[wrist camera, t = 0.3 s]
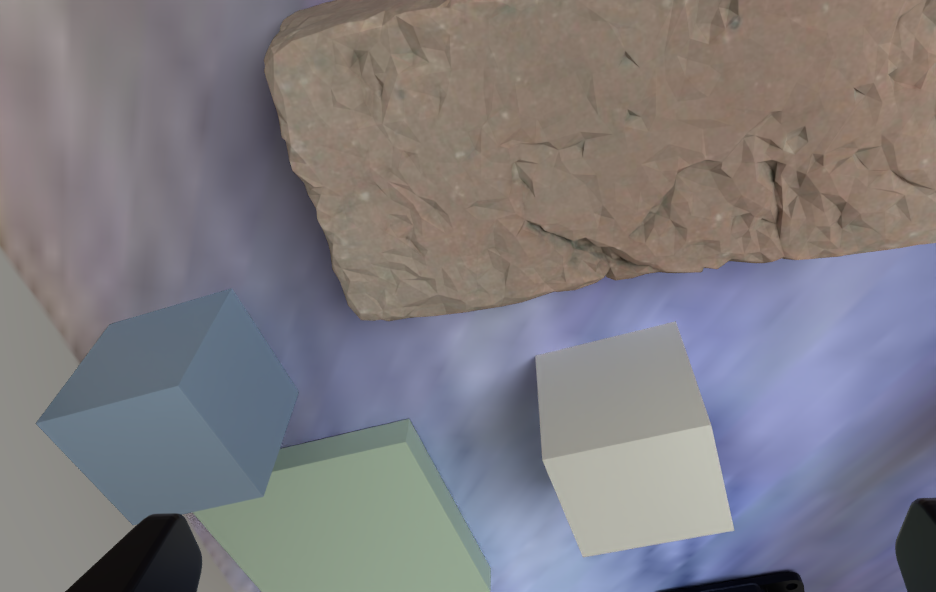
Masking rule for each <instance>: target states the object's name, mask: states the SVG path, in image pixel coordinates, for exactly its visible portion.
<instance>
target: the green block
mask: <svg viewBox="0 0 936 592" xmlns="http://www.w3.org/2000/svg"><path fill="white" fill-rule="evenodd" d="M193 514H194V515H195V516H196V517H197V518H198V519H199V520H200V522H201V523H202V524H203V525H204V526H205V527H206V528H207V530H208V531H209V532H210V533H211V534H212V535H213V537H214V538H215V539H216V540H217V541H218V542H219V543H220V545H221V546H222V547H223V548H224V549H225V550H226V552H227V553H228V554H229V555H230V556H231V557H232V558H233V560H234V561H235V562H236V563H237V564H238V565H239V567H240V568H241V569H242V570H243V571H244V572H245V573H246V575H247V576H248V577H249V578H250V579H251V580H252V581H253V583H254V584H255V585H256V586H257V587H258V588H259V590H260V591H261V592H490V587H491V568H490V566H489V564H488V563H487V561H486V559H485V557H484V555H483V553H482V552H481V550H480V548H479V546H478V544H477V542H476V541H475V539H474V537H473V535H472V533H471V531H470V530H469V528H468V526H467V524H466V522H465V520H464V519H463V517H462V515H461V513H460V511H459V509H458V508H457V506H456V504H455V502H454V500H453V498H452V497H451V495H450V493H449V491H448V489H447V487H446V486H445V484H444V482H443V480H442V478H441V476H440V475H439V473H438V471H437V469H436V467H435V465H434V464H433V462H432V460H431V458H430V456H429V454H428V453H427V451H426V449H425V447H424V445H423V443H422V442H421V440H420V438H419V436H418V434H417V432H416V431H415V429H414V427H413V425H412V423H411V421H410V420H409V419H406V420H402V421H397V422H393V423H389V424H385V425H380V426H376V427H372V428H367V429H363V430H359V431H355V432H350V433H346V434H342V435H338V436H333V437H329V438H325V439H320V440H316V441H312V442H308V443H303V444H299V445H295V446H290V447H286V448H282V449H280V450H279V453H278V455H277V458H276V461H275V464H274V467H273V470H272V473H271V476H270V479H269V482H268V485H267V488H266V491H265V494H264V497H260V498H255V499H251V500H246V501H242V502H237V503H233V504H228V505H223V506H219V507H214V508H210V509H205V510H200V511H196V512H193Z"/></svg>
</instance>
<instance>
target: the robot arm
mask: <svg viewBox="0 0 936 592" xmlns="http://www.w3.org/2000/svg"><path fill="white" fill-rule="evenodd" d="M895 550H896V558H897V561H898V565H899V568H900V571H901V574H902V577H903V580H904V583H905V586H906V589H907V592H936V498H919V499H916V500H915V501H914V502H912V504H911V505H910V508H909V510H908V512H907V515H906V517H905V520H904V522H903V525H902V527H901V529H900V532H899V534H898V537H897V540H896V546H895ZM201 569H202V556H201V551H200V549H199V546H198V544H197V542H196V540H195V538H194V536H193V534H192V532H191V529H190V527H189V525H188V523H187V521H186V519H185V517H184V516H182V515H181V514H178V513H163V514H152V515H149V516H147V517H146V518H144V519H143V520H142V521H141V522H140V523H139V524H137V526H135V527H134V528H133V529H132V530H131V531H130V532H129V533H128V534H127V535H126V536H125V537H124V538H123V539H121V540H120V541H119V542H118V543H117V544H116V545H115V546H114V547H113V548H112V549H111V550H110V551H108V552H107V553H106V554H105V555H104V556H103V557H102V558H101V559H100V560H99V561H98V562H97V563H96V564H95V565H93V566H92V567H91V568H90V569H89V570H88V571H87V572H86V573H85V574H84V575H83V576H82V577H80V578H79V580H77V581H76V582H75V583H74V584H73V585H72V586H71V587H70V588H69V589H68V590H67V591H65V592H197V588H198V584H199V579H200V575H201ZM669 592H804V585H803V582H802V580H801V577H800V575H799V574H798V573H795V572H786V573H780V574H774V575H768V576H761V577H755V578H749V579H743V580H737V581H731V582H725V583H718V584H712V585H706V586H700V587H694V588H688V589H682V590H675V591H669Z"/></svg>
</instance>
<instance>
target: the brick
mask: <svg viewBox="0 0 936 592" xmlns="http://www.w3.org/2000/svg"><path fill="white" fill-rule="evenodd" d="M264 63H265V70H264V73H265V76H266V79H267V82H268V85H269V88H270V92H271V95H272V98H273V101H274V104H275V107H276V110H277V113H278V118H279V123H280V129H281V135H282V138H283V139H284V140H285V141H286V145H287V150H288V155H289V160H290V164H291V167H292V170H293V172H294V173H295V174H296V175H297V176H298V177H299V178H300V179H301V180H302V181H303V182H304V183H305V186H306V190H307V193H308V195H309V197H310V199H311V200H312V202H313V204H314V205H315V208H316V210H317V220H318V221H319V223H320V225H321V227H322V229H323V231H324V234H325V236H326V239H327V241H328V244H329V249H330V253H331V262H332V269H333V271H334V272H335V274H336V276H337V278H338V279H339V281H340V283H341V286H342V289H343V291H344V294H345V297H346V300H347V303H348V306H349V307H350V308H351V309H352V310H353V311H354V313H355V314H356V315H357V316H358V317H359V318H360V319H361V320H373V321H375V320H380V319H381V320H386V321H393V320H399V319H405V318H412V317H427V316H438V315H446V314H454V313H463V312H470V311H475V310H482V309H488V308H495V307H501V306H506V305H511V304H516V303H520V302H525V301H527V300H530V299H533V298H536V297H539V296H542V295H545V294H548V293H551V292H554V291H555V292H561V291H570V290H576V289H579V288H582V287H585V286H588V285H591V284H593V283H596V282H598V281H599V280H601V279H602V278H604V277H605V275H606V277H608V278H610V279H613V280H622V279H629V278H634V277H637V276H641V275H644V274H649V273H655V272H666V273H687V272H702V271H703V268H712V269H718V268H720V267H721V266H722V265H724V264H725V263H726V262H728V261H736V262H747V263H767V262H773V261H776V260H778V259H781V258H783V259H792V260H802V259H815V258H826V257H838V256H844V255H850V254H858V253H866V252H873V251H881V250H888V249H896V248H902V247H908V246H913V245H919V244H930V243H936V0H335V1H331V2H326V3H323V4H320V5H317V6H314V7H311V8H307V9H304V10H299V11H297V12H295V13H294V14H292V15H290V16H289V17H287V18H286V19H285V20H283V22H282V24H281V26H280V31H279V33H278V34H277V35H276V36H275V37H274V39H273V40H272V42H271V44H270V46H269V48H268V50H267V52H266V55H265V58H264Z"/></svg>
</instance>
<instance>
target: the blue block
mask: <svg viewBox="0 0 936 592" xmlns="http://www.w3.org/2000/svg"><path fill="white" fill-rule="evenodd" d="M298 393H299V392H298V390H297V389H296V387H295V385H294V384H293V382H292V381H291V379H290V378H289V376H288V375H287V373H286V372H285V370H284V368H283V367H282V365H281V364H280V362H279V361H278V359H277V358H276V356H275V355H274V353H273V351H272V350H271V348H270V347H269V345H268V344H267V342H266V341H265V339H264V338H263V336H262V334H261V333H260V331H259V330H258V328H257V327H256V325H255V324H254V322H253V320H252V319H251V317H250V316H249V314H248V313H247V311H246V310H245V308H244V307H243V305H242V303H241V302H240V300H239V299H238V297H237V296H236V294H235V293H234V291H233V290H232V288H231V289H228V290H224V291H221V292H218V293H214V294H211V295H207V296H204V297H201V298H197V299H194V300H190V301H187V302H184V303H180V304H177V305H174V306H170V307H167V308H163V309H160V310H157V311H153V312H150V313H146V314H143V315H140V316H136V317H133V318H129V319H126V320H123V321H119V322H116V323H112V324H109V326H108V327H107V329H106V330H105V331H104V333H103V334H102V335H101V337H100V338H99V339H98V341H97V342H96V343H95V345H94V346H93V347H92V349H91V350H90V351H89V353H88V354H87V355H86V357H85V358H84V359H83V361H82V362H81V363H80V365H79V366H78V367H77V369H76V370H75V371H74V373H73V374H72V375H71V377H70V378H69V380H68V381H67V382H66V384H65V385H64V386H63V388H62V389H61V390H60V392H59V393H58V394H57V396H56V397H55V398H54V400H53V401H52V402H51V404H50V405H49V406H48V408H47V409H46V411H45V412H44V413H43V414H42V416H41V417H40V418H39V420H38V421H37V422H36V424H37V425H38V426H39V428H40V429H41V430H43V432H44V433H45V434H46V435H47V436H48V437H49V438H50V439H51V440H52V441H53V442H54V443H55V444H56V445H57V446H58V447H59V448H60V449H61V450H62V452H63V453H64V454H65V455H66V456H67V457H68V458H69V459H70V460H71V461H72V462H73V463H74V464H75V465H76V466H77V467H78V468H79V469H80V470H81V471H82V472H83V473H84V474H85V476H86V477H87V478H88V479H89V480H90V481H91V482H92V483H93V484H94V485H95V486H96V487H97V488H98V489H99V490H100V491H101V492H102V493H103V494H104V496H105V497H106V498H107V499H108V500H109V501H110V502H111V503H112V504H113V505H114V506H115V507H116V508H117V509H118V510H119V511H120V512H121V513H122V514H123V515H124V516H125V517H126V519H127V520H128V521H129V522H130V523H131V524H132V525H136V524H139V523H140V522H141V521H142V520H143V519H144V518H146V517H147V516H149V515H152V514H163V513H178V514H181V515H182V514H187V513H191V512H196V511H200V510H205V509H210V508H214V507H219V506H223V505H228V504H233V503H237V502H242V501H246V500H251V499H255V498H260V497H264V494H265V491H266V488H267V485H268V482H269V479H270V476H271V473H272V470H273V467H274V464H275V461H276V458H277V455H278V453H279V450H280V447H281V444H282V441H283V438H284V435H285V432H286V429H287V426H288V423H289V420H290V417H291V414H292V411H293V408H294V405H295V402H296V399H297V396H298Z"/></svg>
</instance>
